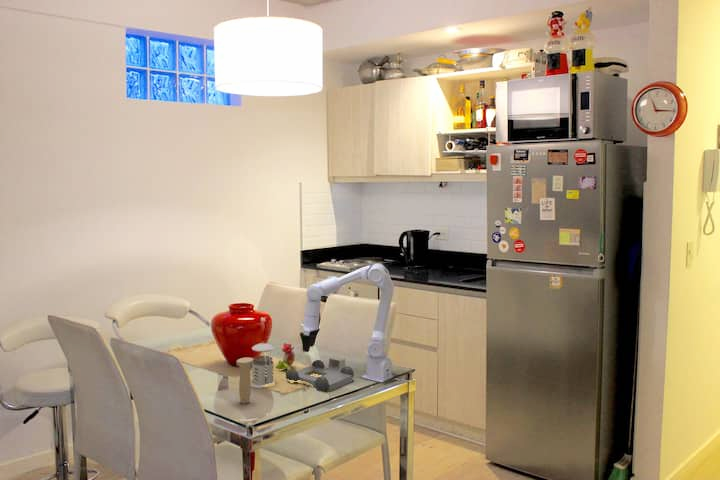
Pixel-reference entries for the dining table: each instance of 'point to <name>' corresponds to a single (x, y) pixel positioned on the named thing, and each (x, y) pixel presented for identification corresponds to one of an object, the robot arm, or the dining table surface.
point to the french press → (262, 365)
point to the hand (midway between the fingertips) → (307, 348)
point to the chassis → (328, 378)
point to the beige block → (336, 363)
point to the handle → (245, 378)
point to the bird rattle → (286, 358)
